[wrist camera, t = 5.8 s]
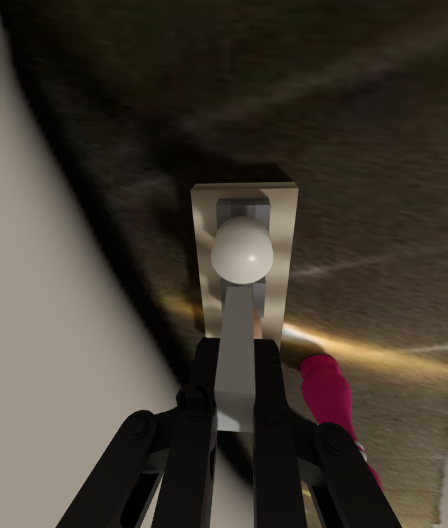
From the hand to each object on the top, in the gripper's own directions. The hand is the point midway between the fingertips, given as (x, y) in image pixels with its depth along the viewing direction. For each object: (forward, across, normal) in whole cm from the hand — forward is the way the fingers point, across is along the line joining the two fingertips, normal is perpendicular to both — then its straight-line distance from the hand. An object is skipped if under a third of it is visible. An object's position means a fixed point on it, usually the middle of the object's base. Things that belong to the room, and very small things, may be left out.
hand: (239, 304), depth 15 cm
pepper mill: (+17, +13, -27) cm, 34 cm away
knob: (+11, 0, 0) cm, 11 cm away
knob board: (+17, 0, -8) cm, 19 cm away
